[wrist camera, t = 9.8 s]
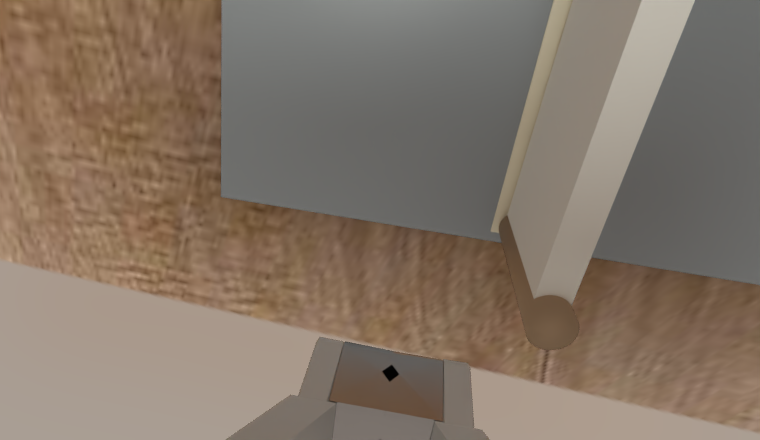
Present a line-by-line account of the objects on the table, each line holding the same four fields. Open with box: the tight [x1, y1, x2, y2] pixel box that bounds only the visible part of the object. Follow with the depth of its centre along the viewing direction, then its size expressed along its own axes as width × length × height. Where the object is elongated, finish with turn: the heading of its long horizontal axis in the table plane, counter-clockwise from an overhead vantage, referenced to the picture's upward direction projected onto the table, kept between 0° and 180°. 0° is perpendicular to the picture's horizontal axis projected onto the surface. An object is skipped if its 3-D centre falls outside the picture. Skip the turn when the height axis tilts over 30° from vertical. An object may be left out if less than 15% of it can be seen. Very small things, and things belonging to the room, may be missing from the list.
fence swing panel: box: [499, 0, 695, 350], centre depth 17 cm, size 11×2×7 cm, turn 171°
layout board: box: [221, 0, 760, 285], centre depth 19 cm, size 26×16×1 cm, turn 82°
